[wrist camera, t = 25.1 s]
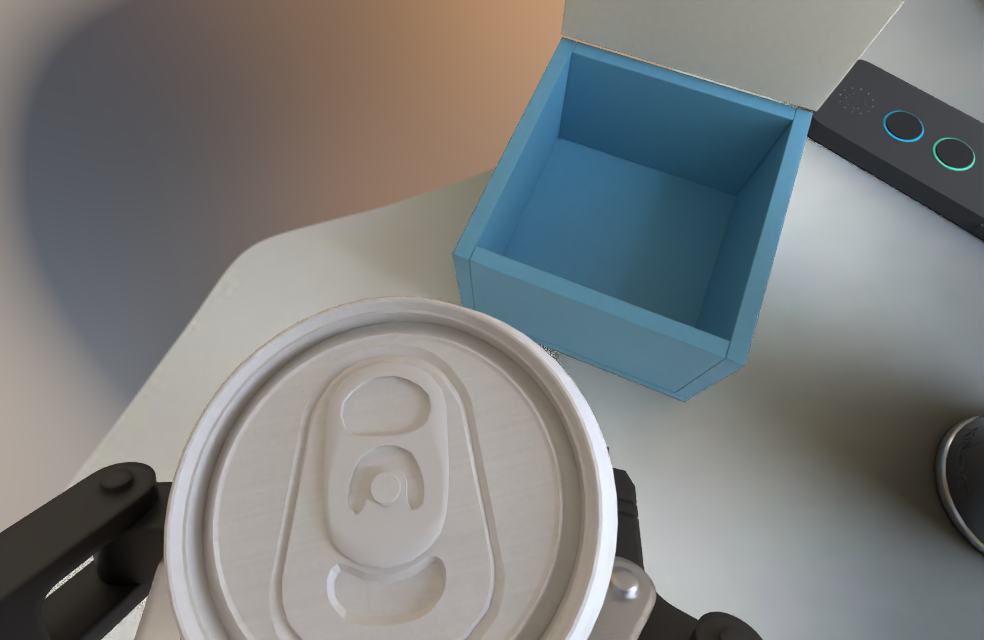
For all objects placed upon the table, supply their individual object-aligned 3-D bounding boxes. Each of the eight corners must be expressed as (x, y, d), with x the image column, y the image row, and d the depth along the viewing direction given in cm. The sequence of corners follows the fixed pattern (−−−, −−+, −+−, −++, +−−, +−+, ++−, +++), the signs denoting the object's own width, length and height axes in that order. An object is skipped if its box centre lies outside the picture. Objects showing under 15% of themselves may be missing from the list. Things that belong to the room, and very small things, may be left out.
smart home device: (860, 53, 42) (1117, 190, 37) (846, 70, 44) (1091, 204, 39) (808, 116, 40) (1074, 269, 35) (796, 131, 42) (1048, 280, 37)
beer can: (388, 602, 19) (79, 842, 5) (388, 436, 21) (168, 285, 7) (552, 590, 19) (685, 792, 5) (535, 425, 21) (597, 254, 7)
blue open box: (684, 402, 34) (745, 366, 26) (462, 313, 37) (451, 254, 28) (746, 198, 40) (813, 112, 31) (549, 132, 42) (562, 36, 33)
